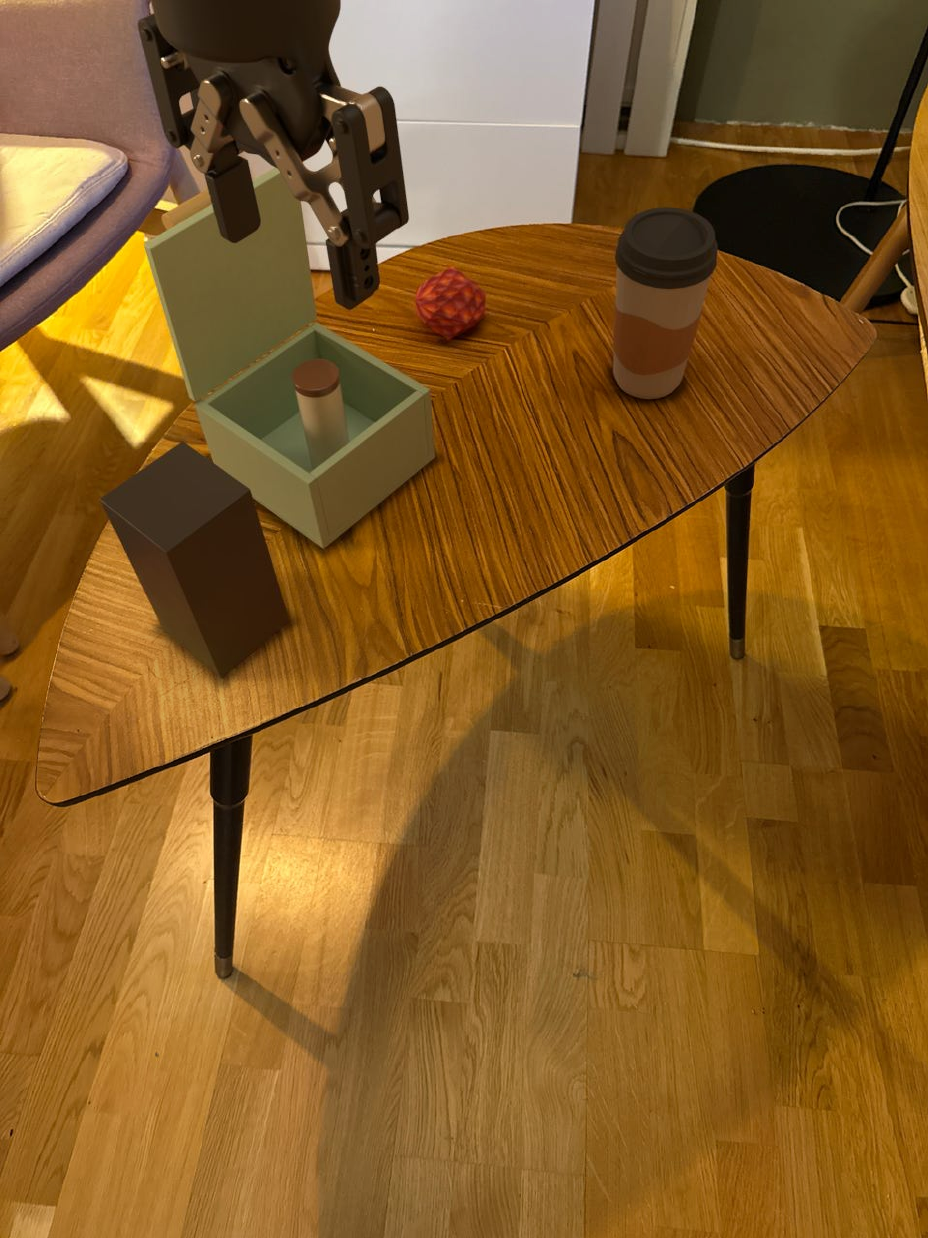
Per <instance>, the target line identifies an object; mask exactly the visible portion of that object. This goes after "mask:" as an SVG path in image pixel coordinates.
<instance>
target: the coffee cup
mask: <svg viewBox="0 0 928 1238" xmlns="http://www.w3.org/2000/svg"><path fill="white" fill-rule="evenodd" d="M718 246H719V244H718V242H717V240H716V232H715V229H714V227H713V225H712V224H711V222H709V221H708V219H707V218H705V217H704V216H702V215H700V214H699V213H696V212H694V211H692V210H688V209H684V208H680V207H671V206H669V207H668V206H665V207H663V206H662V207H653V208H649V209H646V210H643V211H641V212H638V213H636V214H635V215H633V216H632V217H631V218H630V219H628V221H627V223H626V224H625V226H624V229H623V230H622V231H621V234H620V236H618V240H617V247H616V248H615V253H614V260H615V263H616V277H615V278H616V279H615V282H616V283H615V297H614V305H613V306H614V307H613V333H612V347H613V365H612V366H613V367H612V374H613V377H614V380H615V382H616V383H617V385H618V387H619V388H620V389H621V390H622V391H623V392H624V393H625V394H628V395H630V396H632V397H634V398H637V399H642V400H654V399H657V400H658V399H660V398H663V397H667V396H668V395H670V394H672V393H673V392H674V391H675V390H676V389H677V388H678V387H679V385H681V382H682V381H683V378H684V374H685V371H686V367H687V363H688V360H689V357H690V354H691V352H692V349H693V346H694V341H695V338H696V334H697V331H698V327H699V324H700V320H701V317H702V315H703V314H702V313H703V306H704V303H705V300H706V296H707V292H708V289H709V285H710V282H711V278H712V274H713V273H714V272H715V270H716V268H717V266H718V265H717V264H718V251H719V250H718V248H719V247H718Z"/></svg>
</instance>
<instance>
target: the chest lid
mask: <svg viewBox="0 0 928 1238" xmlns="http://www.w3.org/2000/svg"><path fill="white" fill-rule="evenodd" d="M252 182H253V186H254V191H255V195H256V200H257V205H258V209H259V214H260V218H261V224H260V227H259V228H258V230H257V231H255V232H254V233H252V234H251V235H249V236H247V237H246V238H244V239H242V240H241V241H239V242H237V243H232V242H230V241H228V240H226V239H225V238H223V237H222V236H221V235H220V231H219V227H218V223H217V219H216V216H215V214H214V210H213V207H212V203H211V199H210V197H211V196H210V195H209V191H208V188H207V189H204V190H202V191H201V192H200V193H198V194H196V195H194V196H192V197H190V198H189V199H187V200H186V201H184V202H182V203H180V204H179V205H177V206H175V207H172V209H170V210H168V211H166V212H165V213H163V214H162V215H161V222H162V224H163V226H164V229H165V231H163V232H162V233H160V234H158V235H157V236H155V237H153V238H152V239H150V240H148V241H146V242H145V243H143V247H144V251H145V255H146V258H147V261H148V264H149V268H150V271H151V274H152V277H153V278H152V279H153V282H154V284H155V288H156V291H157V294H158V298H159V301H160V305H161V308H162V311H163V314H164V318H165V321H166V324H167V327H168V331H169V334H170V338H171V341H172V344H173V348H174V352H175V354H176V358H177V361H178V364H179V368H180V371H181V375H182V379H183V381H184V384H185V387H186V391H187V394H188V397H189V399H190V400H192V401H193V402H195V403H197V402H199V401H200V400H202V399H203V398H205V397H206V396H208V395H209V394H211V393H212V392H213V391H215V390H216V389H218V388H219V387H221V386H222V385H224V384H225V383H227V382H228V381H230V380H231V379H232V378H234V377H235V376H237V375H238V374H240V373H241V372H243V371H244V370H246V369H247V368H248V367H250V366H251V365H253V364H254V363H256V362H257V361H259V360H260V359H262V358H263V357H265V356H266V355H267V354H269V353H270V352H272V351H273V350H275V349H276V348H278V347H279V346H281V345H282V344H283V343H285V342H286V341H288V340H289V339H291V338H292V337H294V336H295V335H297V334H298V333H300V332H301V331H302V330H304V329H305V328H307V327H308V326H310V325H311V324H312V323H314V322H316V320H318V315H317V307H316V301H315V293H314V285H313V279H312V278H313V277H312V271H311V265H310V264H311V263H310V257H309V251H308V250H309V249H308V242H307V234H306V227H305V221H304V215H303V214H304V213H303V207H302V201H299V200H297V199H296V198H295V197H294V196H293V194H292V192H291V191H290V189H289V187H288V185H287V184H286V182H285V180H284V178H283V177H282V175H281V173H280V171H279V170H278V169H277V168H276V167H273V168H271V169H270V170H268V171H266V172H265V173H263V174H262V175H259V176H258V177H256V178H254V179H252Z"/></svg>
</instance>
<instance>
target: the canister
mask: <svg viewBox="0 0 928 1238" xmlns="http://www.w3.org/2000/svg"><path fill="white" fill-rule="evenodd" d="M292 381H293V386H294V388H295V392H296V397H297V401H298V406H299V410H300V415H301V419H302V424H303V428H304V433H305V437H306V442H307V447H308V451H309V456H310V460H311V465H312V469H313V470H314V469H316V468H317V467H318V466H320V465H321V464H322V463H323V462H325V461H326V460H327V459H329V458H330V457H331V456H333V455H334V454H335V453H336V452H338V451H339V450H340V449H342V448H343V447H344V446H346V445H347V444H348V443H349V442H350V438H349V432H348V426H347V420H346V414H345V408H344V403H343V397H342V391H341V385H340V375H339V370H338V368H337V367H336V365H335V364H333V363H332V362H330V361H328V360H324V359H312V360H308V361H305V362H303V363H301V364H300V365H298V366H297V367H296V368H295V369H294V371H293V374H292Z"/></svg>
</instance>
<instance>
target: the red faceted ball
mask: <svg viewBox="0 0 928 1238" xmlns="http://www.w3.org/2000/svg"><path fill="white" fill-rule="evenodd" d="M486 297H487V294H486V293H485V292H484V291H483V289H482V287H480V286H479V285H478V284H477V282H476V281H474V280H472V279H471V278H470V277H468V275H465V274H464V273H463V272H461V271H460V270H459V269H458V268H457V267H456V266H453V265H451V266H450V267H448V268H446V269H444V270H442V271H440V272H439V273H436V274H434V275H432V276H431V277H429V278H428V279H426V280H425V281H424V282H423V283H422V284H421V285H420V286H419V287H418V288H417V289H416V292H415V298H414V304H415V305H414V306H415V313H416V314H417V316H418V318H419V319H420V320H421V321H422V322H423V324H424V325H426V326H427V327H428V328H430V329H432V330H433V331H435V332H436V333H438V334H439V335H441V336H442V337H443V338H445V339H447V340H448V341H450V340H452V339H453V338H456V337H457V336H460V335H461V334H462V333H464V332H466V331H467V330H469V329H471V328H473V327H474V326H476V324H478V323H479V322H480V321H481V320H482V319H483V318H484V317H485V313H486Z"/></svg>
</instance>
